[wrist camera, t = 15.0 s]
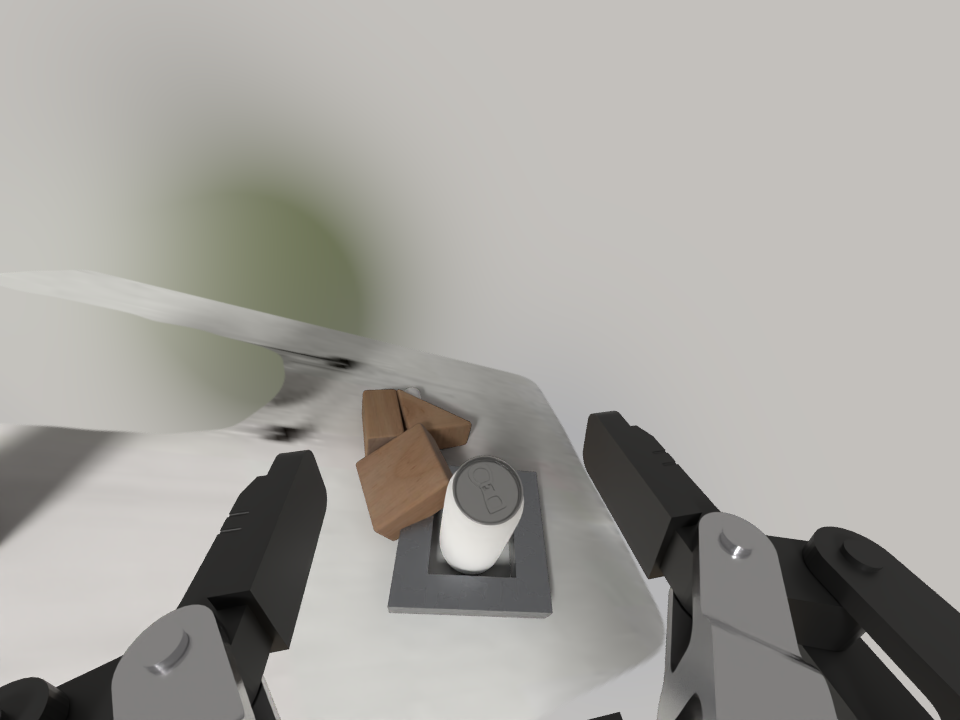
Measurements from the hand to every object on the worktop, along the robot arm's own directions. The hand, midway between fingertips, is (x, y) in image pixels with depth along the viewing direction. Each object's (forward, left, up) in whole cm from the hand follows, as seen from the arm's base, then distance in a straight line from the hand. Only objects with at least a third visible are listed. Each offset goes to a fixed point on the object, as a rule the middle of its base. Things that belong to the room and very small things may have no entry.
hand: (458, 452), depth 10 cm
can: (+4, +7, -29) cm, 30 cm away
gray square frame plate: (+4, +7, -28) cm, 30 cm away
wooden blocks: (-3, +16, -29) cm, 33 cm away
